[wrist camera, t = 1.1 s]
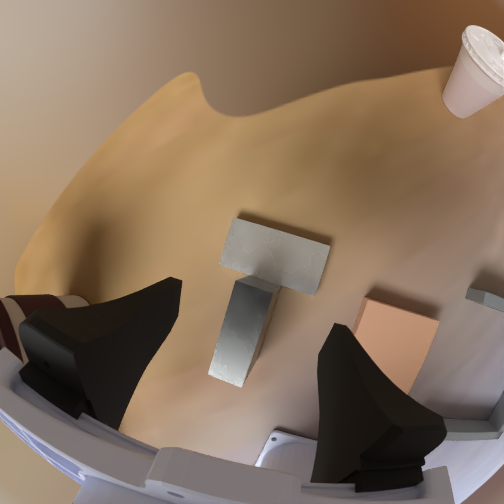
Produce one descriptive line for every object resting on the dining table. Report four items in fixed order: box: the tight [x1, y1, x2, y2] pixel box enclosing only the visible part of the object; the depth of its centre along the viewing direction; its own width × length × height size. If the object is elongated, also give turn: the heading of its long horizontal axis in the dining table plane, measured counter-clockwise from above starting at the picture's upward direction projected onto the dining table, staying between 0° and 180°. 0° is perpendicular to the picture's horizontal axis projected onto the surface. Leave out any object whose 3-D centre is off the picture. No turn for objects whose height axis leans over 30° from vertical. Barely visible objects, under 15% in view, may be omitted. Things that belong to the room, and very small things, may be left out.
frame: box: [443, 288, 504, 441], centre depth 16 cm, size 14×13×3 cm
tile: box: [352, 297, 440, 395], centre depth 20 cm, size 7×7×2 cm
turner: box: [208, 217, 330, 387], centre depth 20 cm, size 11×8×6 cm
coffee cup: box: [0, 294, 89, 366], centre depth 19 cm, size 10×10×15 cm
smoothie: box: [442, 25, 504, 118], centre depth 12 cm, size 6×6×14 cm
